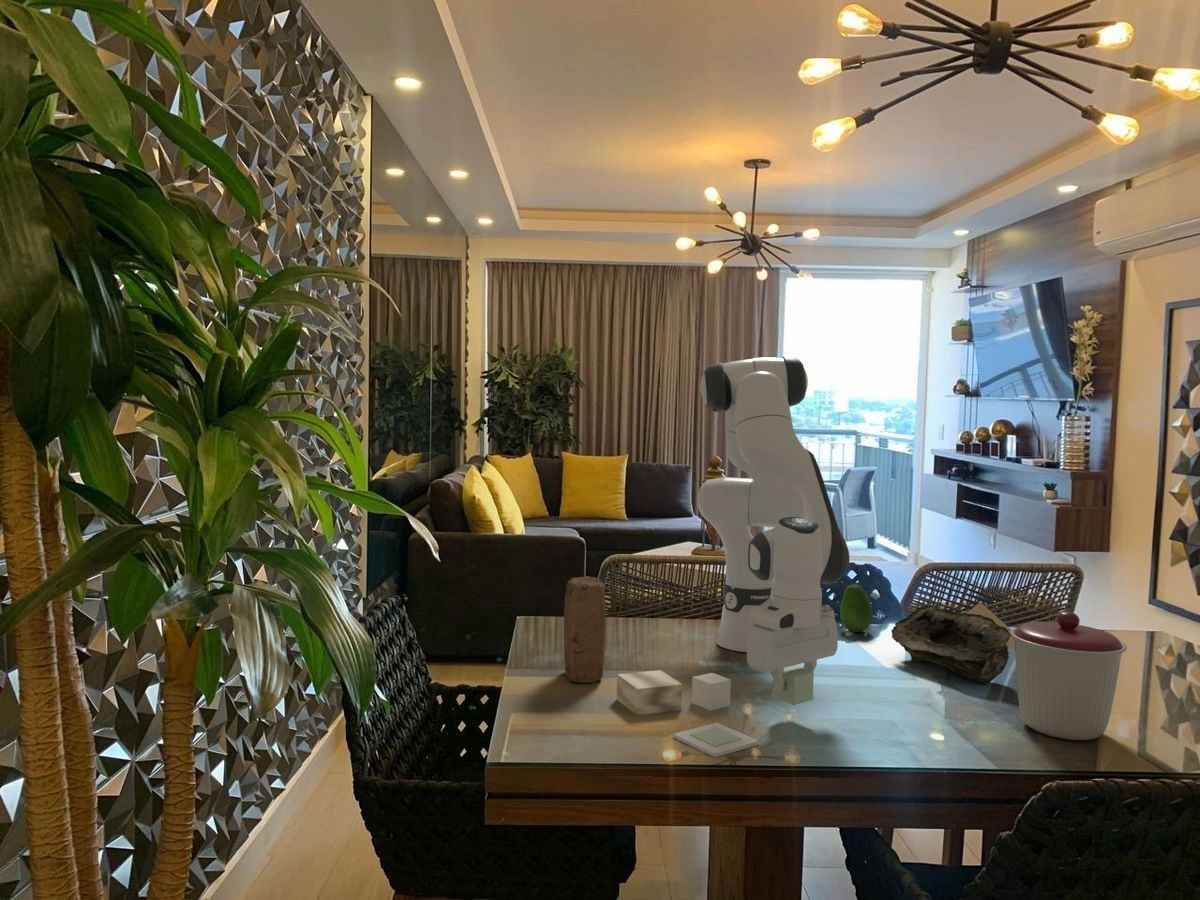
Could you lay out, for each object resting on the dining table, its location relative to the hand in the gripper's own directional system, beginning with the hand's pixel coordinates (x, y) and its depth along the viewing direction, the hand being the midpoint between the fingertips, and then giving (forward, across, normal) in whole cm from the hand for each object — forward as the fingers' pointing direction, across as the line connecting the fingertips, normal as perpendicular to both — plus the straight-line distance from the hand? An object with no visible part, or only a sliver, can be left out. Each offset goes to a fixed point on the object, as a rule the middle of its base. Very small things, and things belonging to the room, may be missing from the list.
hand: (792, 687), depth 158 cm
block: (+6, +17, -40) cm, 44 cm away
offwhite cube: (+6, +6, -14) cm, 16 cm away
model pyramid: (+8, -82, -13) cm, 83 cm away
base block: (+6, +16, -20) cm, 27 cm away
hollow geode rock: (+7, -52, -1) cm, 52 cm away
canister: (+6, -37, +30) cm, 48 cm away
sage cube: (+2, 0, 0) cm, 2 cm away
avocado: (+7, -63, -34) cm, 72 cm away
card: (+6, +19, 0) cm, 19 cm away
